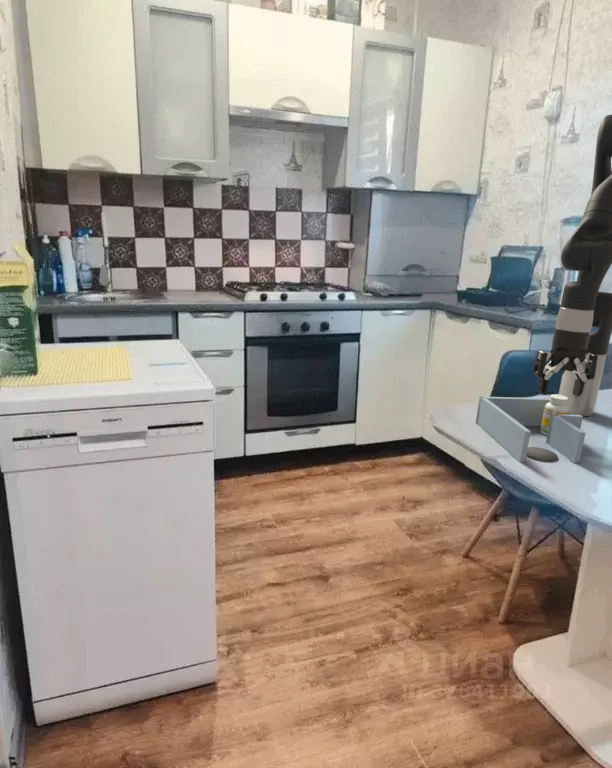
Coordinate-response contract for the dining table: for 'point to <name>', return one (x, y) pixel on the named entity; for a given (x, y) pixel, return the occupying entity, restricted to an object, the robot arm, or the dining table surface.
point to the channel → (512, 413)
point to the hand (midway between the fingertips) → (559, 394)
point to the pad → (541, 454)
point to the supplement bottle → (553, 410)
